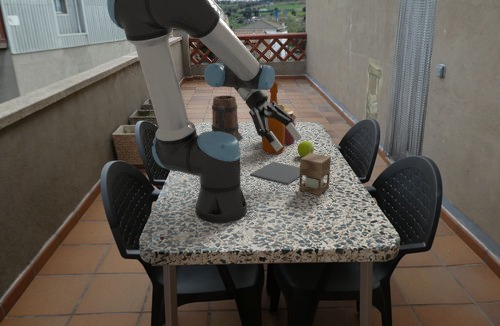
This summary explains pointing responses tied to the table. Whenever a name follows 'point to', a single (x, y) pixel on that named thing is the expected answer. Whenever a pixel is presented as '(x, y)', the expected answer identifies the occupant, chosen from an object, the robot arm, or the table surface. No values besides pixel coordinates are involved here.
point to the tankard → (225, 116)
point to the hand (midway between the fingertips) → (290, 144)
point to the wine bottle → (274, 126)
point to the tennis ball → (305, 148)
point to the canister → (288, 136)
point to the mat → (278, 172)
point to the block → (313, 182)
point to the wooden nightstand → (315, 171)
